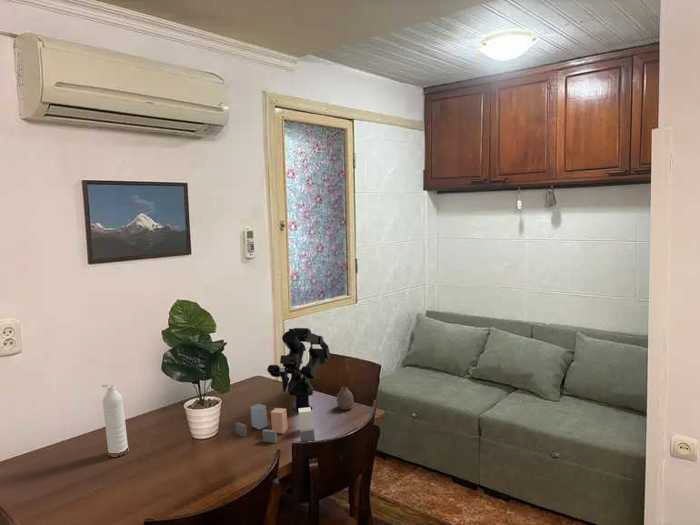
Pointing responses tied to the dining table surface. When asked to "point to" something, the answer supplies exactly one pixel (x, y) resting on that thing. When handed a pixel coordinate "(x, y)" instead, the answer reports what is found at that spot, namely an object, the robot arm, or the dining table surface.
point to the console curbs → (274, 433)
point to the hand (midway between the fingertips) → (286, 391)
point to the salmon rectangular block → (279, 420)
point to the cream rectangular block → (305, 418)
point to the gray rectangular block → (258, 416)
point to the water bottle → (114, 420)
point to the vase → (345, 399)
